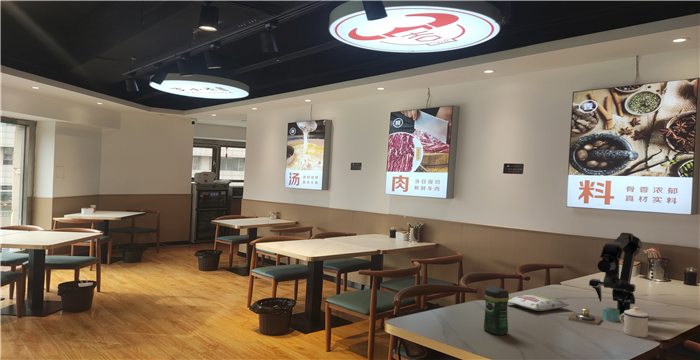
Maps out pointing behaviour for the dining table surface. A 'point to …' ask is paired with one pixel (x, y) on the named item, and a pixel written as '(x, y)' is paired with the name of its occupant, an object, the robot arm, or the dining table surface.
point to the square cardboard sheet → (585, 317)
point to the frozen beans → (537, 302)
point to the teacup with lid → (635, 322)
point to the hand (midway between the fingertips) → (611, 303)
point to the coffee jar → (496, 310)
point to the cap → (611, 314)
